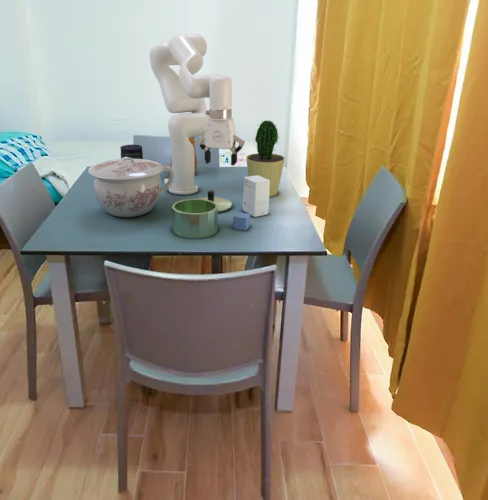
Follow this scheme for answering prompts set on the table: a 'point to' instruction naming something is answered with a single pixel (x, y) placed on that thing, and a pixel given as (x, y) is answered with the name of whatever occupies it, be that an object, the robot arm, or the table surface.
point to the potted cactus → (266, 157)
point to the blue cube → (241, 221)
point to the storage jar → (132, 151)
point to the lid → (218, 201)
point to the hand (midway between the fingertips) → (220, 163)
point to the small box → (256, 195)
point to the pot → (195, 218)
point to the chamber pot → (129, 185)
